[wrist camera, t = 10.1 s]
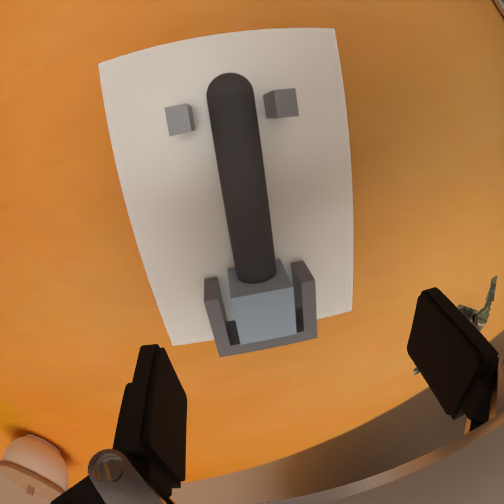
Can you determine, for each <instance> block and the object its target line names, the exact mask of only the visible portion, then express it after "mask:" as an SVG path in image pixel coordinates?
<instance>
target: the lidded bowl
mask: <svg viewBox="0 0 504 504" xmlns="http://www.w3.org/2000/svg"><path fill="white" fill-rule="evenodd" d="M0 471H1V472H2V473H3V474H4V475H5V476H6V477H7V478H9V479H10V480H11V481H13V482H14V483H16V484H17V485H19V486H21V487H22V488H24V489H26V490H27V492H26V494H28V495H30V496H33V494H36V495H39V496H41V497H44V498H47V499H50V500H54V499H55V498H57V497H58V496H60V495H61V494H63V493H64V492H66V491H67V490H68V482H69V476H68V469H67V466H66V463H65V461H64V459H63V458H62V456H61V453H60V451H59V449H58V448H57V447H55V446H54V445H53V444H51V443H50V442H48V441H46V440H45V439H43V438H40V437H38V436H35V435H31V434H27V435H25V436H23V437H19V438H16V439H14V440H13V441H12V442H11V443H10V444H9V445H8V447H7V448H6V450H5V452H4V454H3V457H2V460H1V461H0Z"/></svg>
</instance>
